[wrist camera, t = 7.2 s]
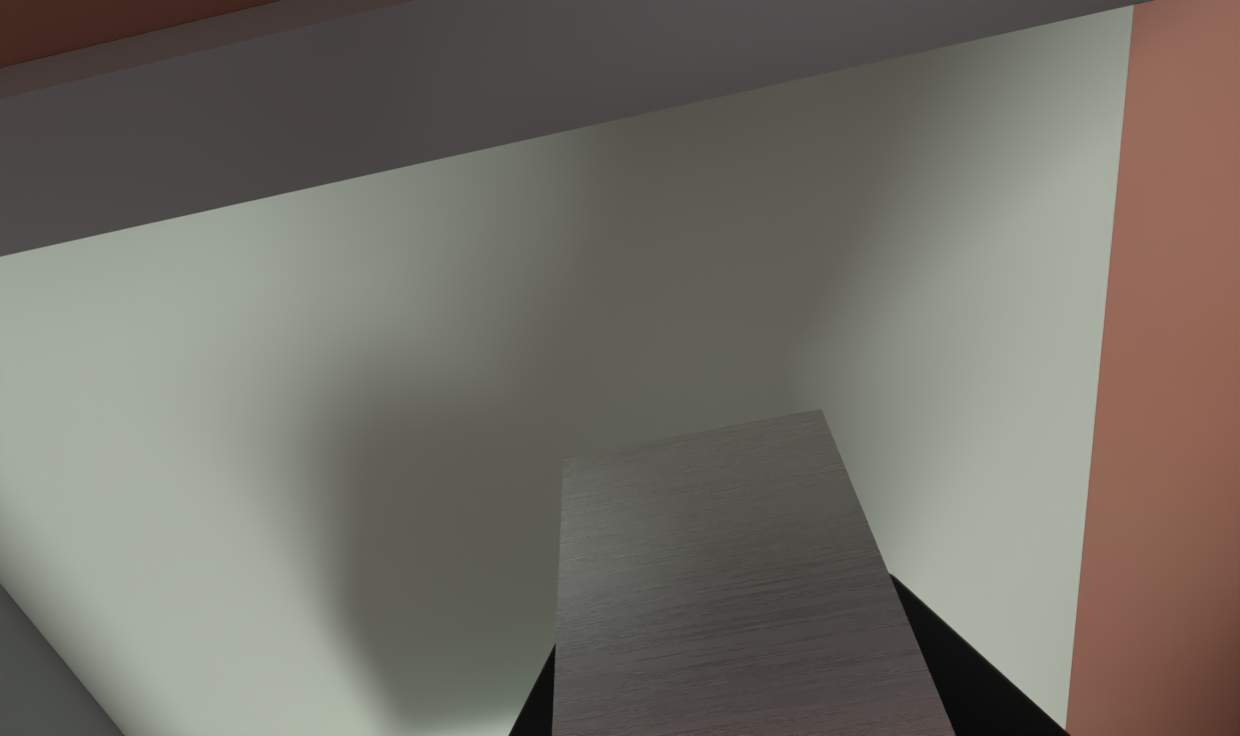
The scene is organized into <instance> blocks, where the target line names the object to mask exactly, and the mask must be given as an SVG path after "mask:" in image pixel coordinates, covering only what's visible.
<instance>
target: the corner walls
mask: <svg viewBox="0 0 1240 736" xmlns="http://www.w3.org/2000/svg"><path fill="white" fill-rule="evenodd" d="M1149 1H1153V0H281V1H277V2H273V3H268V4H264V5H260V6H256V7H252V8H248V9H243V10H239V11H235V12H231V13H227V14H223V15H219V16H214V17H210V18H206V19H202V20H198V21H194V22H190V23H185V24H181V25H177V26H173V27H169V28H165V29H160V30H156V31H152V32H148V33H144V34H140V35H136V36H131V37H127V38H123V39H119V40H115V41H111V42H107V43H102V44H98V45H94V46H90V47H86V48H82V49H77V50H73V51H69V52H65V53H61V54H57V55H53V56H48V57H44V58H40V59H36V60H32V61H28V62H24V63H19V64H15V65H11V66H7V67H3V68H0V257H2V256H6V255H11V254H15V253H20V252H24V251H29V250H33V249H38V248H42V247H47V246H51V245H56V244H60V243H65V242H69V241H74V240H78V239H83V238H87V237H92V236H96V235H101V234H105V233H110V232H114V231H119V230H123V229H128V228H132V227H137V226H141V225H146V224H150V223H155V222H159V221H164V220H168V219H173V218H177V217H182V216H186V215H191V214H195V213H200V212H204V211H209V210H213V209H218V208H222V207H227V206H231V205H236V204H240V203H245V202H249V201H254V200H258V199H263V198H267V197H272V196H276V195H281V194H285V193H290V192H294V191H299V190H303V189H308V188H312V187H317V186H321V185H326V184H330V183H335V182H339V181H343V180H348V179H352V178H357V177H361V176H366V175H370V174H375V173H379V172H384V171H388V170H393V169H397V168H402V167H406V166H411V165H415V164H420V163H424V162H429V161H433V160H438V159H442V158H447V157H451V156H456V155H460V154H465V153H469V152H474V151H478V150H483V149H487V148H492V147H496V146H501V145H505V144H510V143H514V142H519V141H523V140H528V139H532V138H537V137H541V136H546V135H550V134H555V133H559V132H564V131H568V130H573V129H577V128H582V127H586V126H591V125H595V124H600V123H604V122H609V121H613V120H618V119H622V118H627V117H631V116H636V115H640V114H645V113H649V112H654V111H658V110H663V109H667V108H672V107H676V106H681V105H685V104H690V103H694V102H699V101H703V100H708V99H712V98H717V97H721V96H726V95H730V94H735V93H739V92H744V91H748V90H753V89H757V88H762V87H766V86H771V85H775V84H780V83H784V82H789V81H793V80H798V79H802V78H807V77H811V76H816V75H820V74H825V73H829V72H834V71H838V70H843V69H847V68H852V67H856V66H861V65H865V64H870V63H874V62H879V61H883V60H888V59H892V58H897V57H901V56H906V55H910V54H915V53H919V52H924V51H928V50H933V49H937V48H942V47H946V46H951V45H955V44H960V43H964V42H969V41H973V40H978V39H982V38H987V37H991V36H996V35H1000V34H1005V33H1009V32H1014V31H1018V30H1023V29H1027V28H1032V27H1036V26H1041V25H1045V24H1050V23H1054V22H1059V21H1063V20H1068V19H1072V18H1077V17H1081V16H1086V15H1090V14H1095V13H1099V12H1104V11H1108V10H1113V9H1117V8H1122V7H1126V6H1131V5H1135V4H1140V3H1144V2H1149ZM0 736H125V735H124V734H123V733H122V732H121V730H120V729H119V728H118V727H117V725H116V724H115V723H114V722H113V721H112V719H111V718H110V717H109V716H108V714H107V713H106V712H105V711H104V710H103V708H102V707H101V706H100V705H99V703H98V702H97V701H96V700H95V699H94V697H93V696H92V695H91V694H90V692H89V691H88V690H87V689H86V687H85V686H84V685H83V684H82V683H81V681H80V680H79V679H78V678H77V676H76V675H75V674H74V673H73V672H72V670H71V669H70V668H69V667H68V665H67V664H66V663H65V662H64V661H63V659H62V658H61V657H60V656H59V654H58V653H57V652H56V651H55V650H54V648H53V647H52V646H51V645H50V643H49V642H48V641H47V640H46V639H45V637H44V636H43V635H42V634H41V632H40V631H39V630H38V629H37V628H36V626H35V625H34V624H33V623H32V621H31V620H30V619H29V618H28V617H27V615H26V614H25V613H24V612H23V610H22V609H21V608H20V607H19V606H18V604H17V603H16V602H15V601H14V599H13V598H12V597H11V596H10V595H9V593H8V592H7V591H6V590H5V588H4V587H3V586H2V585H1V584H0Z"/></svg>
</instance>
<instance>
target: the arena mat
mask: <svg viewBox="0 0 1240 736" xmlns="http://www.w3.org/2000/svg"><path fill="white" fill-rule="evenodd" d="M1133 8H1134V5H1131V6H1126V7H1122V8H1117V9H1113V10H1108V11H1104V12H1099V13H1095V14H1090V15H1086V16H1081V17H1077V18H1072V19H1068V20H1063V21H1059V22H1054V23H1050V24H1045V25H1041V26H1036V27H1032V28H1027V29H1023V30H1018V31H1014V32H1009V33H1005V34H1000V35H996V36H991V37H987V38H982V39H978V40H973V41H969V42H964V43H960V44H955V45H951V46H946V47H942V48H937V49H933V50H928V51H924V52H919V53H915V54H910V55H906V56H901V57H897V58H892V59H888V60H883V61H879V62H874V63H870V64H865V65H861V66H856V67H852V68H847V69H843V70H838V71H834V72H829V73H825V74H820V75H816V76H811V77H807V78H802V79H798V80H793V81H789V82H784V83H780V84H775V85H771V86H766V87H762V88H757V89H753V90H748V91H744V92H739V93H735V94H730V95H726V96H721V97H717V98H712V99H708V100H703V101H699V102H694V103H690V104H685V105H681V106H676V107H672V108H667V109H663V110H658V111H654V112H649V113H645V114H640V115H636V116H631V117H627V118H622V119H618V120H613V121H609V122H604V123H600V124H595V125H591V126H586V127H582V128H577V129H573V130H568V131H564V132H559V133H555V134H550V135H546V136H541V137H537V138H532V139H528V140H523V141H519V142H514V143H510V144H505V145H501V146H496V147H492V148H487V149H483V150H478V151H474V152H469V153H465V154H460V155H456V156H451V157H447V158H442V159H438V160H433V161H429V162H424V163H420V164H415V165H411V166H406V167H402V168H397V169H393V170H388V171H384V172H379V173H375V174H370V175H366V176H361V177H357V178H352V179H348V180H343V181H339V182H335V183H330V184H326V185H321V186H317V187H312V188H308V189H303V190H299V191H294V192H290V193H285V194H281V195H276V196H272V197H267V198H263V199H258V200H254V201H249V202H245V203H240V204H236V205H231V206H227V207H222V208H218V209H213V210H209V211H204V212H200V213H195V214H191V215H186V216H182V217H177V218H173V219H168V220H164V221H159V222H155V223H150V224H146V225H141V226H137V227H132V228H128V229H123V230H119V231H114V232H110V233H105V234H101V235H96V236H92V237H87V238H83V239H78V240H74V241H69V242H65V243H60V244H56V245H51V246H47V247H42V248H38V249H33V250H29V251H24V252H20V253H15V254H11V255H6V256H2V257H0V584H1V585H2V586H3V587H4V588H5V590H6V591H7V592H8V593H9V595H10V596H11V597H12V598H13V599H14V601H15V602H16V603H17V604H18V606H19V607H20V608H21V609H22V610H23V612H24V613H25V614H26V615H27V617H28V618H29V619H30V620H31V621H32V623H33V624H34V625H35V626H36V628H37V629H38V630H39V631H40V632H41V634H42V635H43V636H44V637H45V639H46V640H47V641H48V642H49V643H50V645H51V646H52V647H53V648H54V650H55V651H56V652H57V653H58V654H59V656H60V657H61V658H62V659H63V661H64V662H65V663H66V664H67V665H68V667H69V668H70V669H71V670H72V672H73V673H74V674H75V675H76V676H77V678H78V679H79V680H80V681H81V683H82V684H83V685H84V686H85V687H86V689H87V690H88V691H89V692H90V694H91V695H92V696H93V697H94V699H95V700H96V701H97V702H98V703H99V705H100V706H101V707H102V708H103V710H104V711H105V712H106V713H107V714H108V716H109V717H110V718H111V719H112V721H113V722H114V723H115V724H116V725H117V727H118V728H119V729H120V730H121V732H122V733H123V734H124V735H125V736H508V735H509V733H510V731H511V729H512V727H513V725H514V723H515V721H516V719H517V717H518V715H519V713H520V711H521V710H522V708H523V706H524V704H525V702H526V700H527V698H528V696H529V694H530V692H531V690H532V688H533V686H534V684H535V682H536V680H537V678H538V676H539V674H540V672H541V670H542V668H543V666H544V664H545V662H546V660H547V658H548V656H549V654H550V652H551V650H552V648H553V647H554V645H555V643H556V629H557V605H558V581H559V558H560V534H561V510H562V487H563V463H564V458H565V457H570V456H575V455H581V454H586V453H591V452H596V451H602V450H607V449H612V448H617V447H623V446H628V445H633V444H639V443H644V442H649V441H654V440H660V439H665V438H670V437H675V436H681V435H686V434H691V433H696V432H702V431H707V430H712V429H717V428H723V427H728V426H733V425H738V424H744V423H749V422H754V421H760V420H765V419H770V418H775V417H781V416H786V415H791V414H796V413H802V412H807V411H812V410H817V409H822V412H823V414H824V417H825V419H826V422H827V424H828V427H829V429H830V431H831V434H832V436H833V439H834V441H835V444H836V446H837V448H838V451H839V453H840V456H841V458H842V461H843V463H844V465H845V468H846V470H847V473H848V475H849V478H850V480H851V482H852V485H853V487H854V490H855V492H856V495H857V497H858V499H859V502H860V504H861V507H862V509H863V512H864V514H865V516H866V519H867V521H868V524H869V526H870V529H871V531H872V533H873V536H874V538H875V541H876V543H877V546H878V548H879V550H880V553H881V555H882V558H883V560H884V563H885V565H886V567H887V570H888V572H889V573H890V574H892V575H894V576H895V577H896V578H897V579H899V580H900V581H901V582H902V583H903V584H904V585H905V586H906V587H907V588H909V589H910V590H911V591H912V592H913V593H914V594H915V595H916V596H917V597H918V598H920V599H921V600H922V601H923V602H924V603H925V604H926V605H927V606H928V607H930V608H931V609H932V610H933V611H934V612H935V613H936V614H937V615H938V616H939V617H941V618H942V619H943V620H944V621H945V622H946V623H947V624H948V625H949V626H950V627H952V628H953V629H954V630H955V631H956V632H957V633H958V634H959V635H960V636H962V637H963V638H964V639H965V640H966V641H967V642H968V643H969V644H970V645H971V646H973V647H974V648H975V649H976V650H977V651H978V652H979V653H980V654H981V655H982V656H984V657H985V658H986V659H987V660H988V661H989V662H990V663H991V664H992V665H994V666H995V667H996V668H997V669H998V670H999V671H1000V672H1001V673H1002V674H1003V675H1005V676H1006V677H1007V678H1008V679H1009V680H1010V681H1011V682H1012V683H1013V684H1014V685H1016V686H1017V687H1018V688H1019V689H1020V690H1021V691H1022V692H1023V693H1024V694H1026V695H1027V696H1028V697H1029V698H1030V699H1031V700H1032V701H1033V702H1034V703H1035V704H1037V705H1038V706H1039V707H1040V708H1041V709H1042V710H1043V711H1044V712H1045V713H1047V714H1048V715H1049V716H1050V717H1051V718H1052V719H1053V720H1054V721H1055V722H1056V723H1058V724H1059V725H1060V726H1061V727H1062V728H1063V729H1064V730H1065V727H1066V717H1067V706H1068V695H1069V685H1070V674H1071V664H1072V653H1073V643H1074V632H1075V621H1076V611H1077V600H1078V590H1079V579H1080V569H1081V558H1082V547H1083V537H1084V526H1085V516H1086V505H1087V494H1088V484H1089V473H1090V463H1091V452H1092V442H1093V431H1094V420H1095V410H1096V399H1097V389H1098V378H1099V368H1100V357H1101V346H1102V336H1103V325H1104V315H1105V304H1106V293H1107V283H1108V272H1109V262H1110V251H1111V241H1112V230H1113V219H1114V209H1115V198H1116V188H1117V177H1118V167H1119V156H1120V145H1121V135H1122V124H1123V114H1124V103H1125V92H1126V82H1127V71H1128V61H1129V50H1130V40H1131V29H1132V18H1133Z"/></svg>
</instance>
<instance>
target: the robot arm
mask: <svg viewBox="0 0 1240 736" xmlns="http://www.w3.org/2000/svg"><path fill="white" fill-rule="evenodd" d="M889 575H890V577H891V580H892V582H893V584H894V587H895V589H896V592H897V594H898V597H899V599H900V602H901V604H902V606H903V609H904V611H905V614H906V616H907V619H908V621H909V623H910V626H911V628H912V631H913V633H914V636H915V638H916V640H917V643H918V645H919V648H920V650H921V653H922V655H923V657H924V660H925V662H926V665H927V667H928V670H929V672H930V674H931V677H932V679H933V682H934V684H935V687H936V689H937V691H938V694H939V696H940V699H941V701H942V704H943V706H944V708H945V711H946V713H947V716H948V718H949V721H950V723H951V725H952V728H953V730H954V733H955V735H956V736H1071V735H1070V734H1069V733H1067V732H1066V731H1065V730H1064V729H1063V728H1062V727H1061V726H1060V725H1059V724H1058V723H1056V722H1055V721H1054V720H1053V719H1052V718H1051V717H1050V716H1049V715H1048V714H1047V713H1045V712H1044V711H1043V710H1042V709H1041V708H1040V707H1039V706H1038V705H1037V704H1035V703H1034V702H1033V701H1032V700H1031V699H1030V698H1029V697H1028V696H1027V695H1026V694H1024V693H1023V692H1022V691H1021V690H1020V689H1019V688H1018V687H1017V686H1016V685H1014V684H1013V683H1012V682H1011V681H1010V680H1009V679H1008V678H1007V677H1006V676H1005V675H1003V674H1002V673H1001V672H1000V671H999V670H998V669H997V668H996V667H995V666H994V665H992V664H991V663H990V662H989V661H988V660H987V659H986V658H985V657H984V656H982V655H981V654H980V653H979V652H978V651H977V650H976V649H975V648H974V647H973V646H971V645H970V644H969V643H968V642H967V641H966V640H965V639H964V638H963V637H962V636H960V635H959V634H958V633H957V632H956V631H955V630H954V629H953V628H952V627H950V626H949V625H948V624H947V623H946V622H945V621H944V620H943V619H942V618H941V617H939V616H938V615H937V614H936V613H935V612H934V611H933V610H932V609H931V608H930V607H928V606H927V605H926V604H925V603H924V602H923V601H922V600H921V599H920V598H918V597H917V596H916V595H915V594H914V593H913V592H912V591H911V590H910V589H909V588H907V587H906V586H905V585H904V584H903V583H902V582H901V581H900V580H899V579H897V578H896V577H895V576H894V575H892V574H890V573H889ZM555 652H556V643H555V645H554V647H553V648H552V650H551V652H550V654H549V656H548V658H547V660H546V662H545V664H544V666H543V668H542V670H541V672H540V674H539V676H538V678H537V680H536V682H535V684H534V686H533V688H532V690H531V692H530V694H529V696H528V698H527V700H526V702H525V704H524V706H523V708H522V710H521V711H520V713H519V715H518V717H517V719H516V721H515V723H514V725H513V727H512V729H511V731H510V733H509V735H508V736H552V723H553V700H554V676H555Z"/></svg>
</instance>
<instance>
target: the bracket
mask: <svg viewBox="0 0 1240 736" xmlns="http://www.w3.org/2000/svg"><path fill="white" fill-rule="evenodd" d="M552 736H956V735H955V733H954V730H953V728H952V725H951V723H950V721H949V718H948V716H947V713H946V711H945V708H944V706H943V704H942V701H941V699H940V696H939V694H938V691H937V689H936V687H935V684H934V682H933V679H932V677H931V674H930V672H929V670H928V667H927V665H926V662H925V660H924V657H923V655H922V653H921V650H920V648H919V645H918V643H917V640H916V638H915V636H914V633H913V631H912V628H911V626H910V623H909V621H908V619H907V616H906V614H905V611H904V609H903V606H902V604H901V602H900V599H899V597H898V594H897V592H896V589H895V587H894V584H893V582H892V580H891V577H890V575H889V572H888V570H887V567H886V565H885V563H884V560H883V558H882V555H881V553H880V550H879V548H878V546H877V543H876V541H875V538H874V536H873V533H872V531H871V529H870V526H869V524H868V521H867V519H866V516H865V514H864V512H863V509H862V507H861V504H860V502H859V499H858V497H857V495H856V492H855V490H854V487H853V485H852V482H851V480H850V478H849V475H848V473H847V470H846V468H845V465H844V463H843V461H842V458H841V456H840V453H839V451H838V448H837V446H836V444H835V441H834V439H833V436H832V434H831V431H830V429H829V427H828V424H827V422H826V419H825V417H824V414H823V412H822V409H817V410H812V411H807V412H802V413H796V414H791V415H786V416H781V417H775V418H770V419H765V420H760V421H754V422H749V423H744V424H738V425H733V426H728V427H723V428H717V429H712V430H707V431H702V432H696V433H691V434H686V435H681V436H675V437H670V438H665V439H660V440H654V441H649V442H644V443H639V444H633V445H628V446H623V447H617V448H612V449H607V450H602V451H596V452H591V453H586V454H581V455H575V456H570V457H565V458H564V463H563V487H562V510H561V534H560V558H559V581H558V605H557V629H556V652H555V676H554V700H553V723H552Z"/></svg>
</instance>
